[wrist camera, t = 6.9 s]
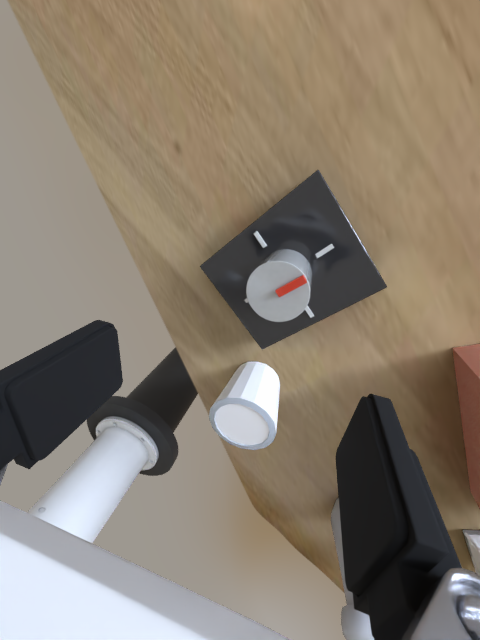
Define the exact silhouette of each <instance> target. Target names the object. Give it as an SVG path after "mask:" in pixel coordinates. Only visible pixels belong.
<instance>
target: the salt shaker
mask: <svg viewBox="0 0 480 640" xmlns="http://www.w3.org/2000/svg"><path fill="white" fill-rule="evenodd" d="M331 525H332V530H333V535H334V540H335V545H336V550H337V555H338V560H339V565H340V570H341V575H342V580H343V586H344V591H345V597H346V602H347V605H346V606H344V607H343V608H342V612H341V625H342V631H343V635H344V637H345V638H346V640H374V637H373V636H372V633H371V626H370V618H369V615H367V614H364V613H362V612H360V611H357V610H355V609H354V602H353V593H352V592H350V591H348V590H347V588H346V583H345V573H344V560H343V547H342V534H341V521H340V508H339V498H338V499H336V502H335V504H334V507H333V509H332V512H331Z"/></svg>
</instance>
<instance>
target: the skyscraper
mask: <svg viewBox="0 0 480 640" xmlns="http://www.w3.org/2000/svg"><path fill="white" fill-rule="evenodd" d="M463 533H464V537H465V540H466V543H467V546H468V549H469V552H470V556H471V559H472V562H473V565H474V568H475V571H476V574H478V575H480V530H463Z"/></svg>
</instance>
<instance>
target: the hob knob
mask: <svg viewBox="0 0 480 640" xmlns="http://www.w3.org/2000/svg"><path fill="white" fill-rule="evenodd" d="M311 284H312V269H311V266H310V263H309V262H308V260H307V259H306V258H305V257H304V256H303V255H302V254H300V253H299V252H297V251H294V250H289V249H282V250H278V251H275V252H273V253H271V254H270V255H268V256H267V257H266V258H265V259H264V260H263V261H262V263H261V264H260V265H259V266H258V267H257V268H256V269H255V270H254V271H253V272H252V274H251V275H250V277H249V279H248V282H247V286H246V294H247V299H248V302H249V304H250V306H251V307H252V309H253V310H254V311H255V312H256V313H257V314H258V315H259V316H261V317H263V318H265V319H267V320H270V321H274V322H284V321H289V320H292V319H294V318H296V317H297V316H299V315H300V314H301V313H302V312H303V311H304V310H305V308H306V307H307V305H308V303H309V299H310V293H311Z"/></svg>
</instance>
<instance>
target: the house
mask: <svg viewBox="0 0 480 640" xmlns="http://www.w3.org/2000/svg"><path fill="white" fill-rule="evenodd" d="M452 349H453V357H454V365H455V373H456V381H457V388H458V396H459V404H460V412H461V420H462V428H463V436H464V444H465V452H466V460H467V467H468V475H469V483H470V491H471V493H472V495H473V497H474V499H475V501H476V503H477V505H478V507H479V509H480V344H474V345H468V346H461V347H454V348H452Z"/></svg>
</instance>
